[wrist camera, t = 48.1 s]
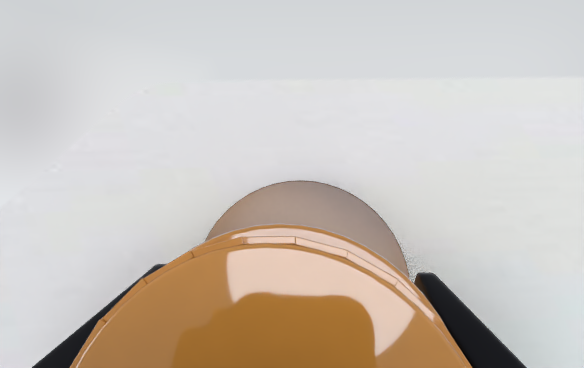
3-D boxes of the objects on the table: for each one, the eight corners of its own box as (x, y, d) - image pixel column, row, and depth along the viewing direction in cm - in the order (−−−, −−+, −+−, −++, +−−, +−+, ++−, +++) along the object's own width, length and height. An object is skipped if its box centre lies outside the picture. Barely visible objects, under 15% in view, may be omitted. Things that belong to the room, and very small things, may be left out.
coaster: (397, 424, 14) (401, 431, 14) (176, 380, 15) (171, 385, 15) (415, 196, 16) (419, 195, 16) (218, 170, 17) (214, 168, 17)
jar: (395, 281, 15) (640, 386, 4) (330, 415, 14) (392, 1101, 3) (277, 214, 16) (188, 138, 5) (208, 334, 15) (-101, 585, 4)
